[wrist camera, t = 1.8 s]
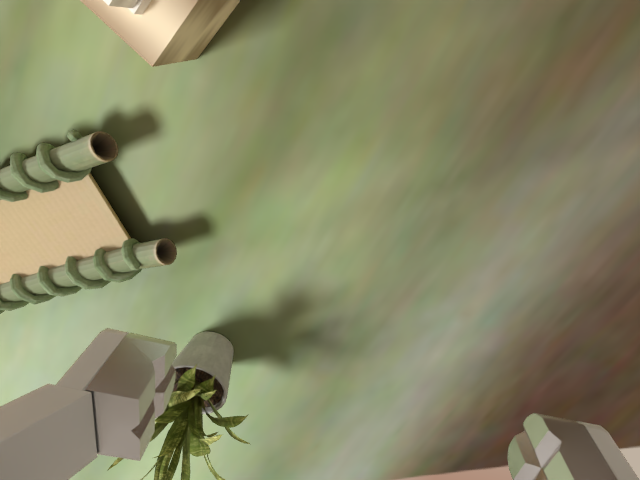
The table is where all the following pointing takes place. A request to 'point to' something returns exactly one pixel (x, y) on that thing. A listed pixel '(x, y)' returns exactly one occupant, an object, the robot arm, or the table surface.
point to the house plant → (195, 404)
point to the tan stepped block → (164, 25)
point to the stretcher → (65, 225)
